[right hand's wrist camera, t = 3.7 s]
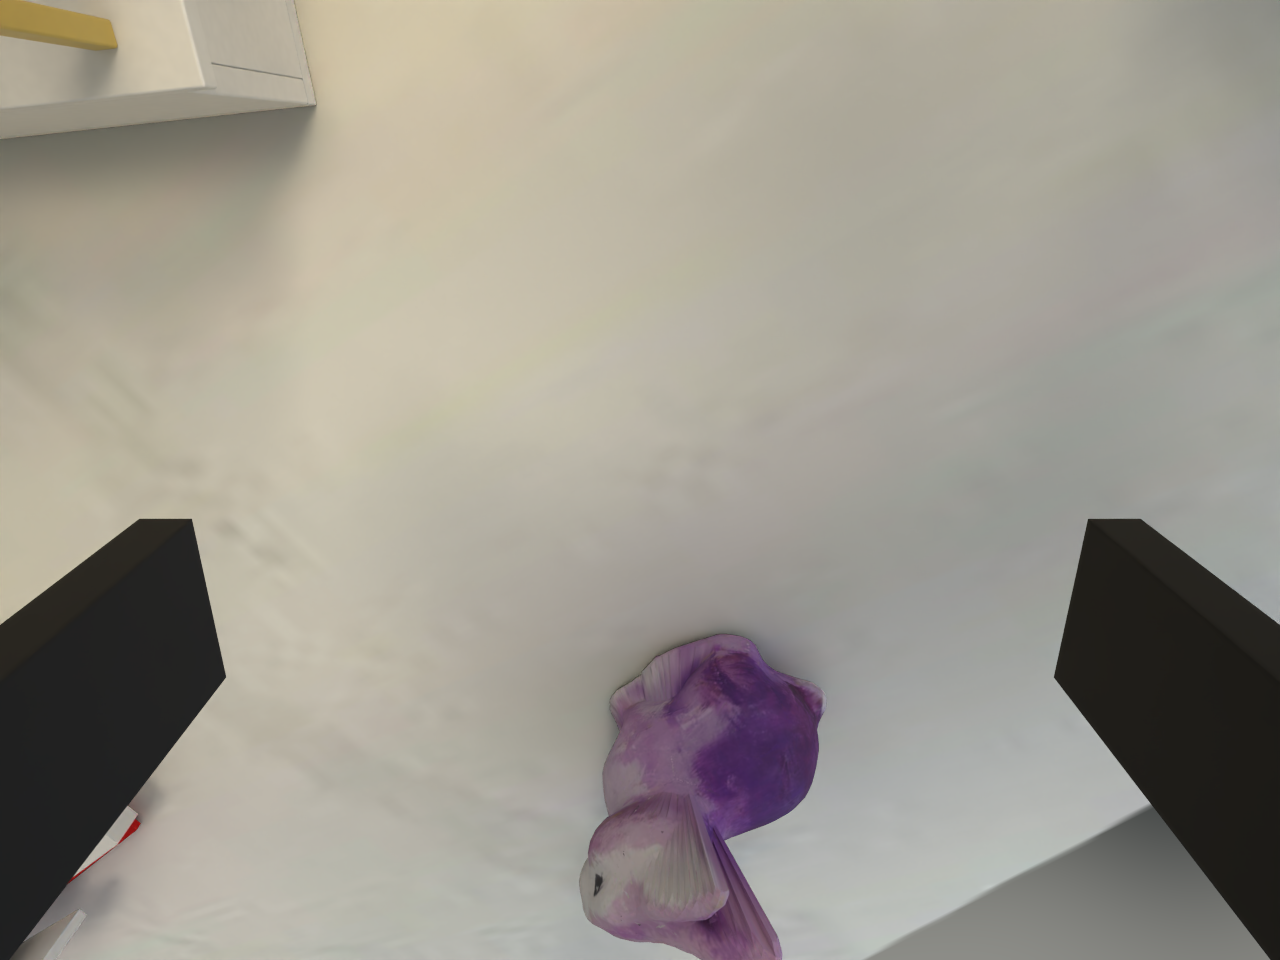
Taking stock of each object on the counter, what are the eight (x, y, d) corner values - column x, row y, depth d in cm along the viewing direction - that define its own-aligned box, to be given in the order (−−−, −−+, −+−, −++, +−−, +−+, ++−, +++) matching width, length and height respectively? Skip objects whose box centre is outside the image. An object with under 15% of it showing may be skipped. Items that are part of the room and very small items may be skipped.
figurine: (573, 744, 45) (542, 1020, 31) (666, 594, 41) (679, 827, 27) (728, 811, 46) (765, 1100, 32) (830, 671, 43) (921, 928, 29)
